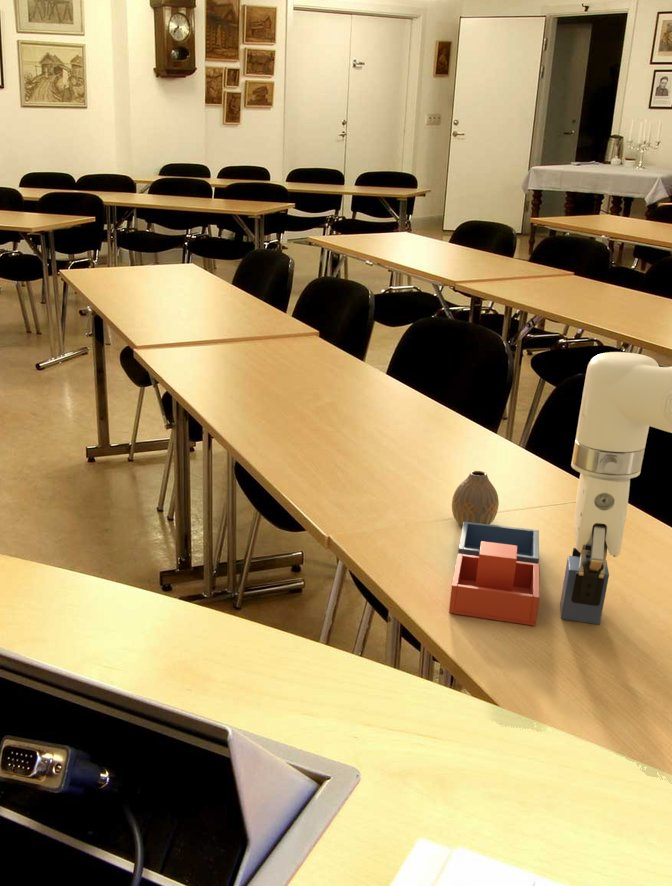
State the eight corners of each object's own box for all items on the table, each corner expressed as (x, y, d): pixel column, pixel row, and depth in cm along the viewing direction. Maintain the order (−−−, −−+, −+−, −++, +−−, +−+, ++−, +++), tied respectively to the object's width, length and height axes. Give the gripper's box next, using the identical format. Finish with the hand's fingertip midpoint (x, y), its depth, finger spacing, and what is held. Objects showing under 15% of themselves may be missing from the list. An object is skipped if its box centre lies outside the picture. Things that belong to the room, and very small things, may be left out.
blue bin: (535, 555, 134) (538, 530, 132) (535, 585, 125) (539, 558, 123) (460, 545, 137) (463, 521, 136) (455, 574, 128) (458, 548, 127)
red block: (510, 593, 122) (517, 545, 119) (509, 608, 118) (516, 559, 115) (475, 587, 123) (481, 540, 121) (473, 602, 119) (479, 554, 117)
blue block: (597, 608, 118) (606, 560, 115) (599, 624, 114) (609, 574, 112) (560, 603, 120) (568, 555, 117) (560, 619, 116) (569, 569, 113)
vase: (458, 513, 149) (463, 462, 145) (501, 522, 145) (508, 470, 141) (443, 527, 144) (449, 476, 140) (488, 537, 140) (494, 484, 136)
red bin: (535, 590, 123) (539, 563, 122) (535, 626, 114) (539, 597, 113) (454, 579, 127) (457, 553, 125) (448, 613, 118) (451, 585, 116)
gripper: (650, 485, 100) (621, 627, 107) (635, 439, 115) (611, 566, 122) (575, 477, 103) (552, 616, 110) (570, 434, 118) (550, 558, 124)
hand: (583, 589), depth 116 cm, fingers open, 6 cm apart
